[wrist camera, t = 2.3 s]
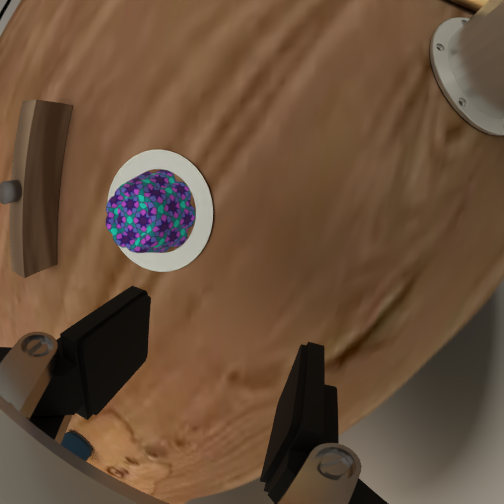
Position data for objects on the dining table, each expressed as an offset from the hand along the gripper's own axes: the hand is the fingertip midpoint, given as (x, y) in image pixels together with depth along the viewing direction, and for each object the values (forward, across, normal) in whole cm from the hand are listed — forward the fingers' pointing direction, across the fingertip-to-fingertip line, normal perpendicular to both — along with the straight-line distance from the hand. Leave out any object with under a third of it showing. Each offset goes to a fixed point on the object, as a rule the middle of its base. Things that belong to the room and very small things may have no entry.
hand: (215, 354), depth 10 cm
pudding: (+18, +12, 0) cm, 22 cm away
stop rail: (+17, +28, 0) cm, 33 cm away
